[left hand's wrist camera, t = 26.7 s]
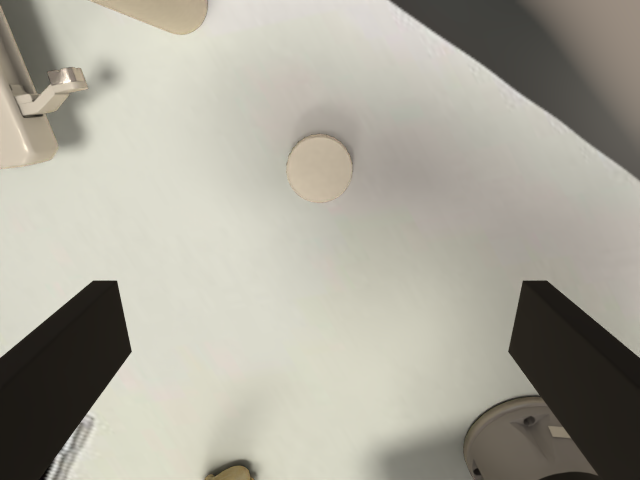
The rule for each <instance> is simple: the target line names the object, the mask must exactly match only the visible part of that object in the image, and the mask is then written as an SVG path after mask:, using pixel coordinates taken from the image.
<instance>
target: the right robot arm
mask: <svg viewBox="0 0 640 480" xmlns="http://www.w3.org/2000/svg"><path fill="white" fill-rule="evenodd" d="M47 74H48V77H49V80H50V82H51V84H50V85H49V86H48V87H47V88H46V89H45V90H44V91H43V92H42V93H41V94H37V92H36V90H35V87H34V85H33V83H32V80H31V78H30V75H29V73H28V71H27V68H26V66H25V63H24V61H23V59H22V56H21V54H20V51H19V49H18V46H17V44H16V42H15V39H14V37H13V34H12V32H11V29H10V27H9V25H8V22H7V20H6V17H5V15H4V13H3V10H2V8H1V5H0V169H6V168H15V167H22V166H28V165H33V164H37V163H42V162H45V161H49V160H51V159H52V158H53V157H54V155H55V154H56V152H57V151H58V148H59V147H58V143H57V141H56V138H55V136H54V133H53V131H52V129H51V126H50V124H49V121H48V119H47V117H46V113H50V112H55V111H57V109H58V108H59V107H60V106H61V105H62V103H63V102H64V101H65V100H66V98H67V97H68V96H69V95H70V94H69V93H71V92H76V91H81V90H86V89H88V86H87V83H86V81H85V78H84V75H83V72H82V70H81V68H75V67H69V68H62V69H60V70H53V71H48V72H47Z"/></svg>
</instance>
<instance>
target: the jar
mask: <svg viewBox="0 0 640 480" xmlns="http://www.w3.org/2000/svg"><path fill="white" fill-rule="evenodd" d="M89 1H92V2H94V3H97V4H99V5H102V6H104V7H107V8H109V9H112V10H114V11H117V12H119V13H122V14H124V15H127V16H129V17H132V18H134V19H137V20H140V21H142V22H145V23H147V24H150V25H152V26H155V27H157V28H160V29H162V30H165V31H167V32H170V33H173V34H178V35H183V34H188V33H191V32H193V31H194V30H196V29H197V28H198V27H199V26H200V25H201V24H202V22H203V21H204V19H205V16H206V13H207V6H208V1H207V0H89Z"/></svg>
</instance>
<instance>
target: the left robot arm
mask: <svg viewBox="0 0 640 480" xmlns="http://www.w3.org/2000/svg"><path fill="white" fill-rule="evenodd" d="M131 352H132V351H131V346H130V341H129V336H128V332H127V327H126V322H125V317H124V312H123V307H122V303H121V298H120V293H119V288H118V283H117V281H92V282H91V283H90V284H89V285H87V286H86V287H85V288H84V289H83V290H81V291H80V292H79V293H78V294H77V295H75V296H74V297H73V298H72V299H71V300H69V301H68V302H67V303H66V304H65V305H63V306H62V307H61V308H60V309H59V310H57V311H56V312H55V313H54V314H53V315H51V316H50V317H49V318H48V319H47V320H45V321H44V322H43V323H42V324H41V325H39V326H38V327H37V328H36V329H35V330H33V331H32V332H31V333H30V334H29V335H27V336H26V337H25V338H24V339H23V340H21V341H20V342H19V343H18V344H17V345H15V346H14V347H13V348H12V349H11V350H9V351H8V352H7V353H6V354H5V355H3V356H2V357H1V358H0V480H39V479H40V477H41V476H42V475H43V473H44V472H45V470H46V469H47V468H48V466H49V465H50V464H51V462H52V461H53V459H54V458H55V457H56V455H57V454H58V453H59V451H60V450H61V448H62V447H63V446H64V444H65V443H66V442H67V440H68V439H69V437H70V436H71V435H72V433H73V432H74V430H75V429H76V428H77V426H78V425H79V424H80V422H81V421H82V419H83V418H84V417H85V415H86V414H87V413H88V411H89V410H90V408H91V407H92V406H93V404H94V403H95V402H96V400H97V399H98V397H99V396H100V395H101V393H102V392H103V390H104V389H105V388H106V386H107V385H108V384H109V382H110V381H111V379H112V378H113V377H114V375H115V374H116V373H117V371H118V370H119V368H120V367H121V366H122V364H123V363H124V362H125V360H126V359H127V357H128V356H129V355H130V353H131ZM508 352H509V353H510V355H511V356H512V357H513V359H514V360H515V362H516V363H517V364H518V366H519V367H520V368H521V370H522V371H523V373H524V374H525V375H526V377H527V378H528V379H529V381H530V382H531V384H532V385H533V386H534V388H535V389H536V391H537V392H538V393H539V395H540V396H541V397H524V398H518V399H514V400H510V401H507V402H505V403H502V404H500V405H498V406H496V407H494V408H492V409H490V410H489V411H487V412H486V413H484V414H483V415H482V416H481V417H480V418H479V419H478V420H477V421H476V422H475V423H474V424H473V425H472V427H471V428H470V430H469V431H468V433H467V435H466V438H465V441H464V447H463V452H464V458H465V461H466V464H467V466H468V469H469V471H470V473H471V475H472V477H473V478H474V480H640V358H639V357H638V356H637V355H635V354H634V353H633V352H632V351H631V350H629V349H628V348H627V347H626V346H625V345H623V344H622V343H621V342H620V341H619V340H617V339H616V338H615V337H614V336H613V335H611V334H610V333H609V332H608V331H607V330H605V329H604V328H603V327H602V326H601V325H599V324H598V323H597V322H596V321H595V320H593V319H592V318H591V317H590V316H589V315H587V314H586V313H585V312H584V311H583V310H581V309H580V308H579V307H578V306H577V305H575V304H574V303H573V302H572V301H571V300H569V299H568V298H567V297H566V296H565V295H563V294H562V293H561V292H560V291H559V290H557V289H556V288H555V287H554V286H553V285H551V284H550V283H549V282H548V281H523V283H522V288H521V293H520V298H519V303H518V307H517V312H516V317H515V322H514V327H513V332H512V336H511V341H510V346H509V351H508Z"/></svg>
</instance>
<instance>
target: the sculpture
mask: <svg viewBox="0 0 640 480" xmlns="http://www.w3.org/2000/svg"><path fill="white" fill-rule="evenodd" d="M205 480H254V479H253V478H252V477H250V474H249V470H248V469H246V468H245V467H244V466H233V467H230V468H228V469H226V470H224V471H223V472H221V473H220V474H218V475H217V476H214V475H213V474H210V475H208V476H207V477H206V478H205Z"/></svg>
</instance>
